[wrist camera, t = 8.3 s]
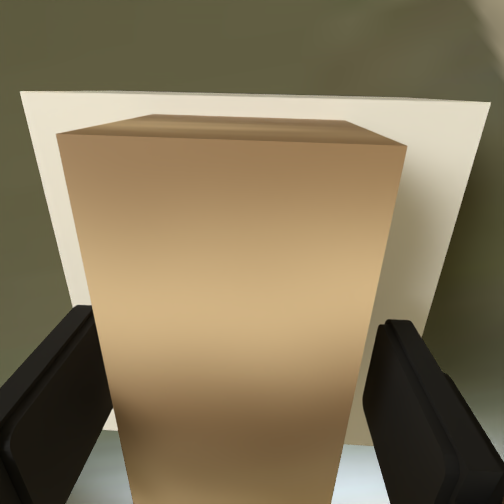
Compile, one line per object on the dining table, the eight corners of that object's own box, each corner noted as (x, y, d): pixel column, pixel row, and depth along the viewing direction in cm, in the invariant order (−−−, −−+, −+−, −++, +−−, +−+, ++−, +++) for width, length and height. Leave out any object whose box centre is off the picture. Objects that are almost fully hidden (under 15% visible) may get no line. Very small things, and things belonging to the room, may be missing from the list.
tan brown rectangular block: (296, 362, 18) (315, 574, 10) (199, 357, 18) (145, 560, 10) (323, 111, 12) (407, 145, 5) (186, 107, 13) (56, 133, 5)
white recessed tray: (356, 347, 19) (389, 446, 14) (148, 337, 20) (103, 429, 14) (405, 97, 14) (490, 102, 8) (114, 90, 14) (19, 91, 9)
